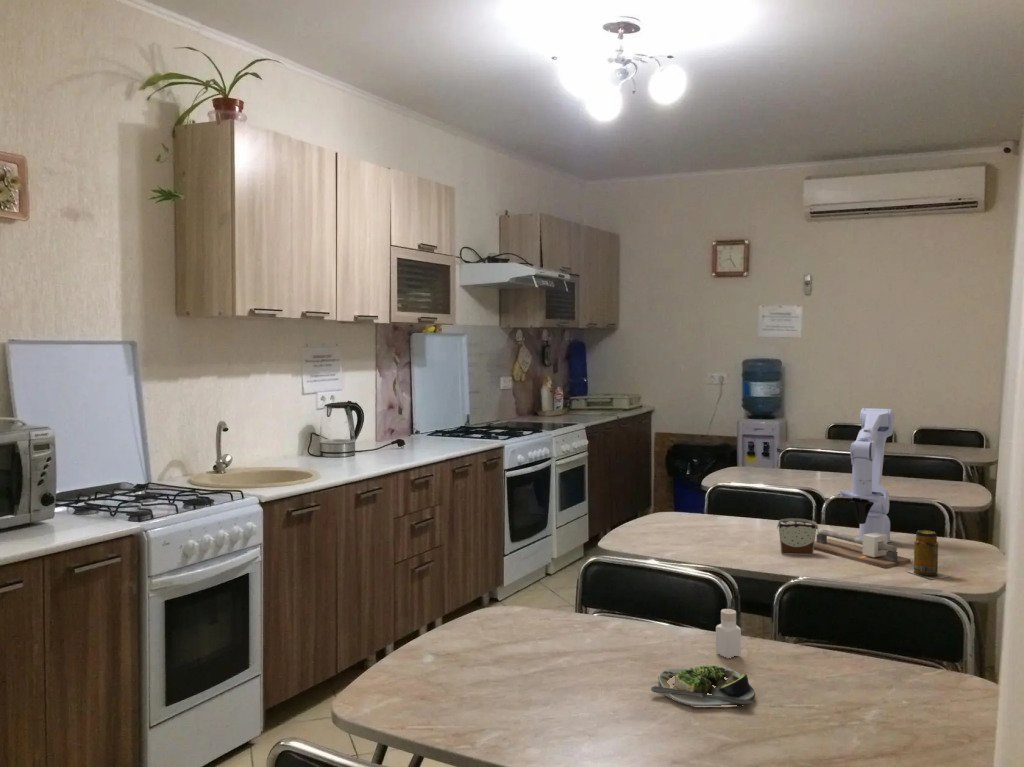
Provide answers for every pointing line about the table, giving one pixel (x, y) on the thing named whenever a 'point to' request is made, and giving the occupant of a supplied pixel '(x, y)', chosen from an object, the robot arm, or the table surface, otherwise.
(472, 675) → the table surface
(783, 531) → the food container
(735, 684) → the salad plate
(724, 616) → the salt shaker
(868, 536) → the collar
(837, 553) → the wooden slider rail
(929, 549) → the condiment
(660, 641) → the table surface
